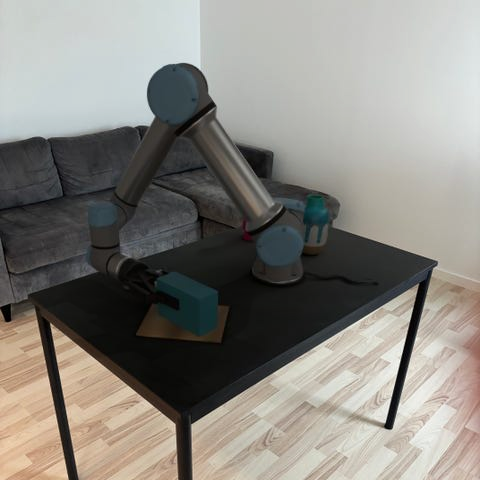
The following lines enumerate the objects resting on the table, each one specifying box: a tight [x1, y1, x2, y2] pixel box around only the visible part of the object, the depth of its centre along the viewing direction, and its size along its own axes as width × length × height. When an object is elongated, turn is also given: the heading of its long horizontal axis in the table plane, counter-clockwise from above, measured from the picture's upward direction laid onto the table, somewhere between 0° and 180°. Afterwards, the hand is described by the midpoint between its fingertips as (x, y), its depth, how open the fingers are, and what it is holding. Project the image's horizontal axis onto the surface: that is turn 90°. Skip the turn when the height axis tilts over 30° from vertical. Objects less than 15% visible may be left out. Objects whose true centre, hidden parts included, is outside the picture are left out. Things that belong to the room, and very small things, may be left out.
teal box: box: [154, 271, 219, 337], centre depth 116 cm, size 18×6×10 cm, turn 48°
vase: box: [301, 193, 330, 256], centre depth 156 cm, size 11×11×19 cm
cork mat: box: [135, 302, 230, 344], centre depth 119 cm, size 20×17×1 cm
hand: (188, 300), depth 114 cm, fingers closed on teal box, 6 cm apart
